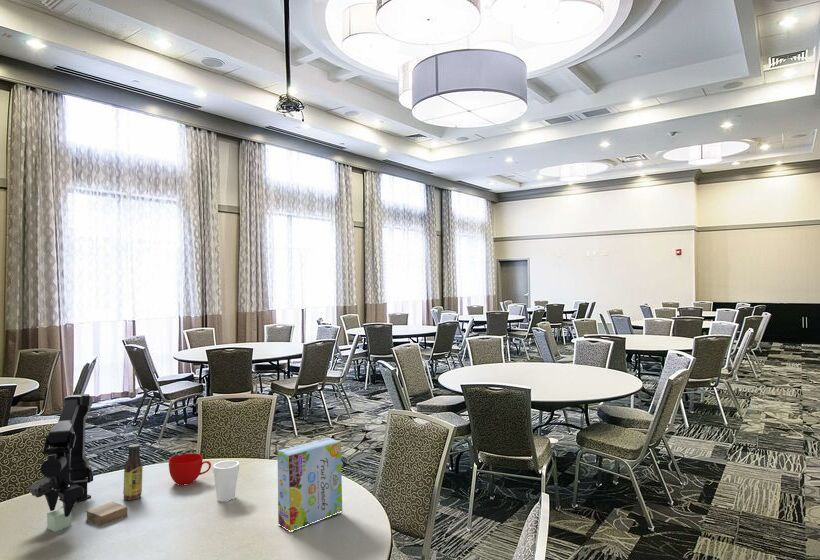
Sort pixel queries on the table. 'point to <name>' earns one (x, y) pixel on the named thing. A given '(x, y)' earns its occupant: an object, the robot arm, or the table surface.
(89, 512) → the walnut block
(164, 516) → the table surface
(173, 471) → the ceramic cup
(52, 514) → the sage cube
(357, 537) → the table surface
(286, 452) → the snack box
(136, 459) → the sauce bottle
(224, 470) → the foam cup
